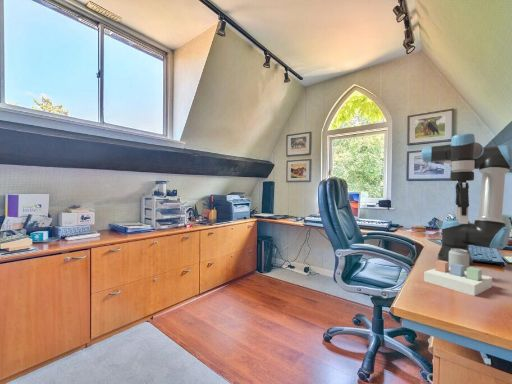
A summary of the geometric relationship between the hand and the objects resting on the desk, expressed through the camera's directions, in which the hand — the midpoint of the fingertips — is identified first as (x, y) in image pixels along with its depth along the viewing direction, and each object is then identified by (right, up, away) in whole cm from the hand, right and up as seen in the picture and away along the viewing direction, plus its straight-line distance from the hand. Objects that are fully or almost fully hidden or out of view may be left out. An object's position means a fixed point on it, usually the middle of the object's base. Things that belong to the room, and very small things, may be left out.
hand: (461, 221), depth 102 cm
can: (+8, -27, +11) cm, 30 cm away
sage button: (+1, -23, -5) cm, 24 cm away
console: (-2, -26, 0) cm, 26 cm away
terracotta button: (-5, -23, +5) cm, 24 cm away
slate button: (-2, -23, 0) cm, 23 cm away
